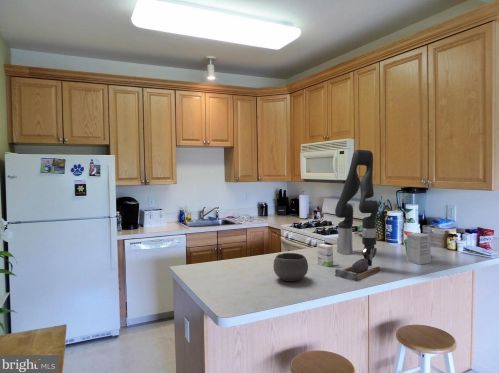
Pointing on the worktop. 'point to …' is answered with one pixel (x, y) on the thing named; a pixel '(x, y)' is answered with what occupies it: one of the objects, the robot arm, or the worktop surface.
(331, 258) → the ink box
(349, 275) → the channel
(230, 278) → the worktop surface
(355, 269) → the perforated stone tool
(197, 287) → the worktop surface
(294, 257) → the bowl
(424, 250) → the supplement box
